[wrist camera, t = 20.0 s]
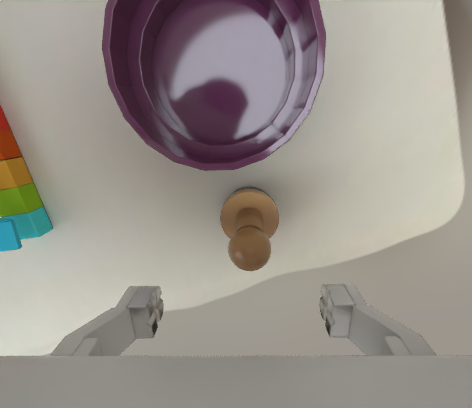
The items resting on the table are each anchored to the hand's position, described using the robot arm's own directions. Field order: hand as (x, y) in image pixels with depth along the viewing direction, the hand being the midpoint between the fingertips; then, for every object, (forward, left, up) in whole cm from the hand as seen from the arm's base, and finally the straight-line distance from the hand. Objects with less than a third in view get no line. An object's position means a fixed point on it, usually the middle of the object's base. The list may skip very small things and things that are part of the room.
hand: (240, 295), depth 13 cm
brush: (+1, 0, -13) cm, 13 cm away
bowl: (-2, +12, -13) cm, 18 cm away
